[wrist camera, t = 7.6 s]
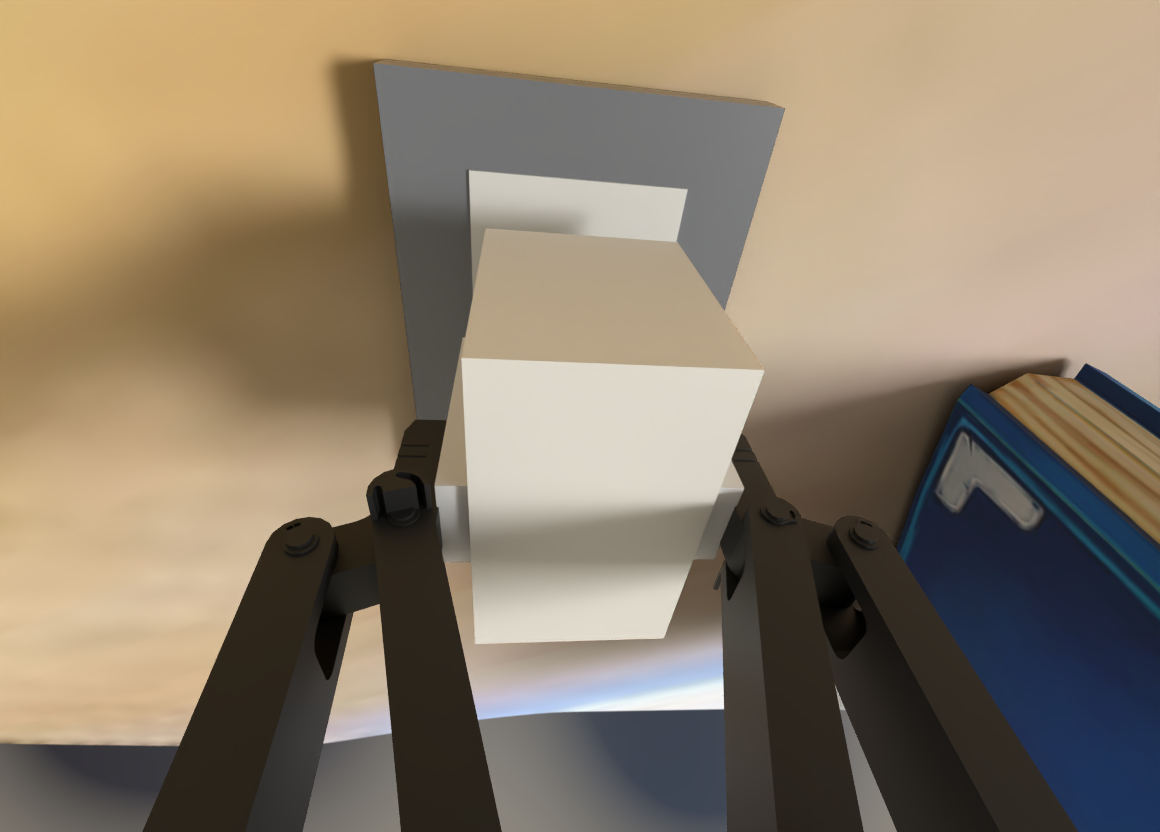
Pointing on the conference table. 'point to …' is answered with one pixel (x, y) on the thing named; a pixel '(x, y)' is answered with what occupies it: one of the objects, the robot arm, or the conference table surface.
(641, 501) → the block
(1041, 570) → the book
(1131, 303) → the conference table surface
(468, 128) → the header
